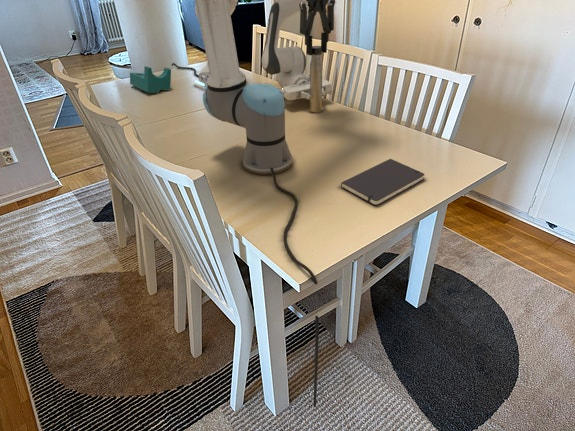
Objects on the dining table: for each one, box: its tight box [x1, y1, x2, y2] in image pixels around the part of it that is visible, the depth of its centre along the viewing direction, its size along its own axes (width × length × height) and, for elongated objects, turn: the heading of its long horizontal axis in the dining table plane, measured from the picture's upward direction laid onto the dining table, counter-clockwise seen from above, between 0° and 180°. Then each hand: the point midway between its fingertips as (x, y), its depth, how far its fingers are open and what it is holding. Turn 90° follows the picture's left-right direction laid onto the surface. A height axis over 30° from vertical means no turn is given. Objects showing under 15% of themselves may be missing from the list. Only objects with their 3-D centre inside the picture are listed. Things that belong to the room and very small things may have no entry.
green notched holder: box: [129, 65, 172, 94], centre depth 185 cm, size 18×11×10 cm, turn 43°
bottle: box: [309, 54, 324, 114], centre depth 154 cm, size 5×5×23 cm
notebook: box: [340, 158, 425, 206], centre depth 114 cm, size 13×2×21 cm
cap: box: [311, 45, 323, 56], centre depth 148 cm, size 4×4×2 cm
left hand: (317, 95), depth 157 cm, fingers closed on bottle, 5 cm apart
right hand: (316, 53), depth 148 cm, fingers open, 6 cm apart
